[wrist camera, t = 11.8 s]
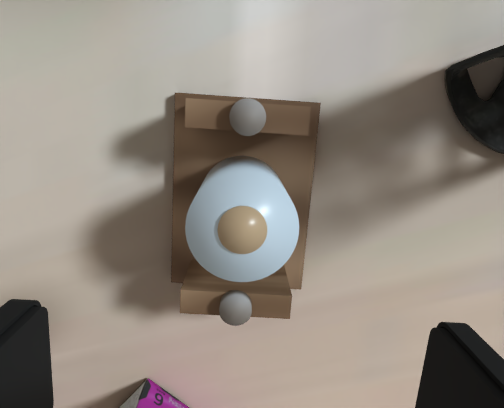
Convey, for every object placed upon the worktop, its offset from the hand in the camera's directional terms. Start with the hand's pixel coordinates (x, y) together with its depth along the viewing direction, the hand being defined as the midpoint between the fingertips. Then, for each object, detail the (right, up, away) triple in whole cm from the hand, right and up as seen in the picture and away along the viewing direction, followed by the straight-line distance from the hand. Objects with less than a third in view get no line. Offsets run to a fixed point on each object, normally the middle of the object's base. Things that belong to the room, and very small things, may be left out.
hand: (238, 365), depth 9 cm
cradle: (0, +5, +20) cm, 20 cm away
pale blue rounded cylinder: (0, +4, +19) cm, 19 cm away
